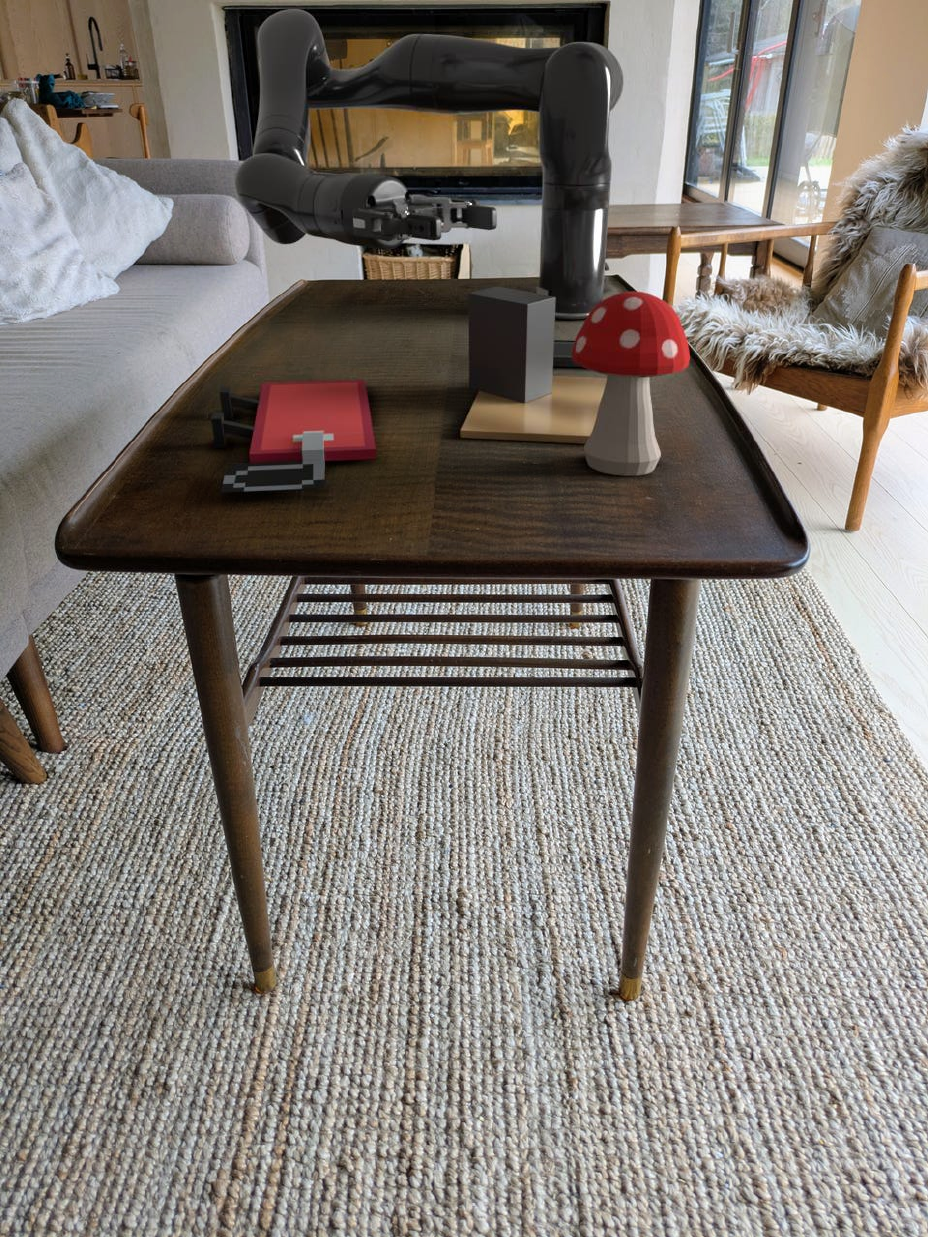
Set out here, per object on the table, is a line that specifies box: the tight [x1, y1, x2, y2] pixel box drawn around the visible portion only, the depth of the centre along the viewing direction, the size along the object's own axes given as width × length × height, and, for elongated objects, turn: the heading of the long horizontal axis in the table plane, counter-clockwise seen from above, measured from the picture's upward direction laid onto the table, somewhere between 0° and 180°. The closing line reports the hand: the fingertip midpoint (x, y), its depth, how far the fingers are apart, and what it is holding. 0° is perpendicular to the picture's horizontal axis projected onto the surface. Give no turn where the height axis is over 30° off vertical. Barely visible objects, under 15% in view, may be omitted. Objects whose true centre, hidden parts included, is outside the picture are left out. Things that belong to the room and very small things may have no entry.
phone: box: [553, 339, 583, 368], centre depth 110 cm, size 8×1×15 cm
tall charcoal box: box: [467, 285, 556, 403], centre depth 95 cm, size 8×5×10 cm, turn 47°
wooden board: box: [459, 375, 607, 445], centre depth 94 cm, size 19×17×1 cm
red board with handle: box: [210, 379, 377, 493], centre depth 87 cm, size 30×3×15 cm
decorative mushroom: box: [572, 290, 691, 476], centre depth 77 cm, size 10×9×15 cm
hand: (467, 223), depth 93 cm, fingers open, 8 cm apart
